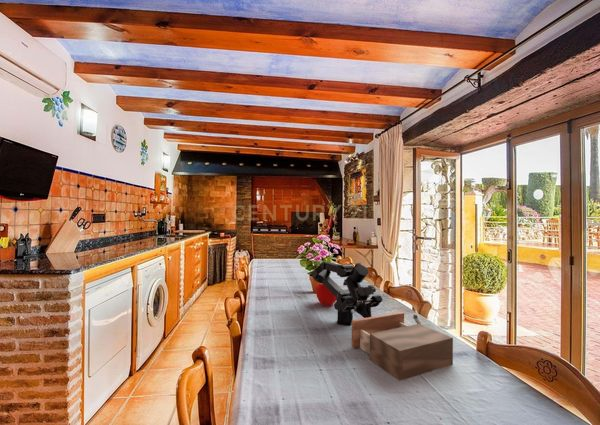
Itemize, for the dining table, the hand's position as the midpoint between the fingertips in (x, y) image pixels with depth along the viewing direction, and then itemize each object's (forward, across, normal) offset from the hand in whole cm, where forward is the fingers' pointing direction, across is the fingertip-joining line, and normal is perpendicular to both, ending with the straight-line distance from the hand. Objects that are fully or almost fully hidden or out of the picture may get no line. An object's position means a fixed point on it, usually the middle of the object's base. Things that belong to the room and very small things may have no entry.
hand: (370, 321), depth 118 cm
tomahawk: (+3, +33, +8) cm, 34 cm away
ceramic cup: (-27, +7, +36) cm, 46 cm away
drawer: (+12, 0, -4) cm, 13 cm away
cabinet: (+20, 0, -10) cm, 22 cm away
